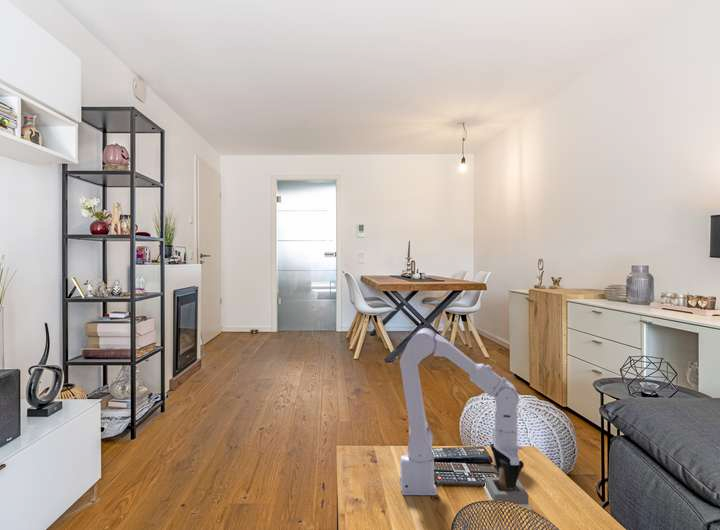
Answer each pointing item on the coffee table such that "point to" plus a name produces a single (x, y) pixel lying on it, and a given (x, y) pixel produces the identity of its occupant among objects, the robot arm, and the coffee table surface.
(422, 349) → the robot arm
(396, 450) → the coffee table surface
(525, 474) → the coffee table surface
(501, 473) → the walnut peg
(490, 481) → the socket board
